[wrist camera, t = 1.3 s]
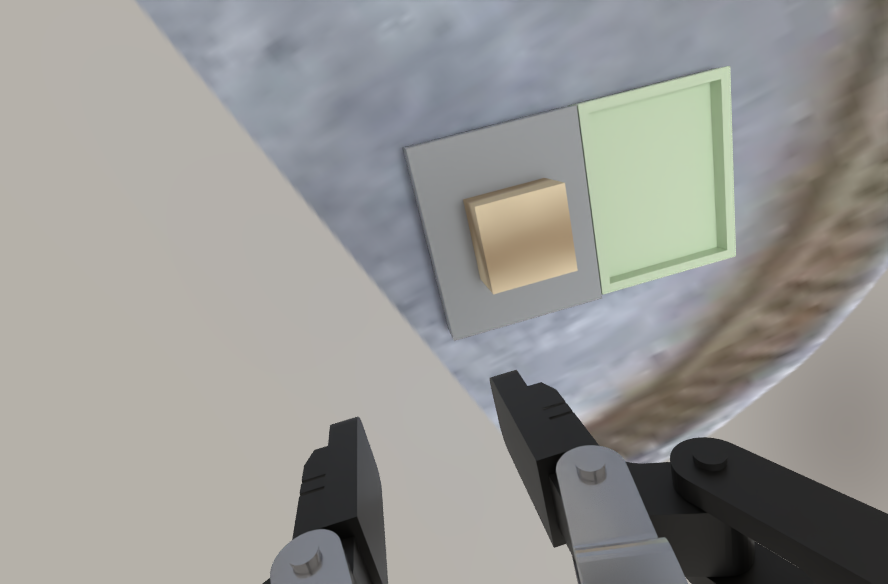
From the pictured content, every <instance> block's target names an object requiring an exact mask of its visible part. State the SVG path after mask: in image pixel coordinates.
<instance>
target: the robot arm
mask: <svg viewBox="0 0 888 584" xmlns="http://www.w3.org/2000/svg"><path fill="white" fill-rule="evenodd" d="M490 385H491V389H492V394H493V398H494V402H495V407H496V411H497V415H498V420H499V424H500V428H501V432H502V435H503V438H504V441H505V444H506V446H507V449H508V451H509V453H510V455H511V458H512V459H513V462H514V464H515V466H516V468H517V470H518V473H519V475H520V477H521V479H522V481H523V483H524V485H525V487H526V489H527V492H528V494H529V496H530V498H531V500H532V502H533V504H534V506H535V509H536V510H537V513H538V515H539V517H540V519H541V521H542V523H543V526H544V528H545V529H546V532H547V534H548V536H549V538H550V540H551V542H552V544H553V547H558V546H561V545H564V544H567V546H568V548H569V550H570V552H571V554H572V557H573V562H574V567H575V572H576V577H577V581H578V584H688V583H687V580H686V578H687V579H688V580H689V582H690V583H692V584H888V514H887V513H884V512H882V511H880V510H878V509H876V508H873V507H871V506H869V505H867V504H865V503H862V502H860V501H858V500H856V499H854V498H851V497H849V496H847V495H845V494H842V493H840V492H838V491H836V490H833V489H831V488H829V487H827V486H825V485H823V484H820V483H818V482H816V481H814V480H812V479H809V478H807V477H805V476H803V475H800V474H798V473H796V472H794V471H792V470H789V469H787V468H785V467H783V466H780V465H778V464H776V463H774V462H772V461H770V460H767V459H765V458H763V457H760V456H758V455H756V454H754V453H752V452H750V451H747V450H745V449H743V448H741V447H739V446H736V445H734V444H732V443H729V442H727V441H723V440H720V439H715V438H706V437H703V438H692V439H688V440H685V441H683V442H681V443H679V444H678V445H676V446H675V447H674V449H673V450H672V452H671V455H670V462H663V463H646V464H638V463H630V462H625V460H624V459H623V458H622V456H621V455H619V454H618V453H617V452H615V451H613V450H612V449H609V448H606V447H602V446H599V445H598V443H597V442H596V441H595V439H594V438H593V437H592V436H591V434H590V433H589V432H588V430H587V429H586V428H585V426H584V425H583V424H582V423H581V421H580V420H579V419H578V417H577V416H576V415H575V413H573V412H572V410H571V408H570V407H569V406H568V404H567V403H565V400H564V399H563V398H562V397H561V395H560V394H559V393H558V391H557V390H556V389H554V388H552V387H550V386H548V385H546V384H544V383H542V382H540V383H537V384H534V385H530V386H527V385H526V383H525V382H524V380H523V379H522V377H521V376H520V374H519V373H518V371H517V370H514V371H511V372H507V373H504V374H501V375H497V376H494V377H491V378H490ZM758 543H759V544H758ZM763 546H764V547H763ZM768 549H769V550H768ZM770 550H771V551H770ZM773 552H774V553H773ZM775 553H776V554H775ZM778 555H779V556H778ZM780 556H781V557H780ZM783 558H784V559H783ZM785 559H786V560H785ZM788 561H789V562H788ZM790 562H791V563H790ZM793 564H794V565H793ZM795 565H796V566H795ZM798 567H799V568H798ZM685 577H686V578H685ZM263 584H388V576H387V561H386V547H385V531H384V516H383V502H382V488H381V481H380V477H379V472H378V468H377V465H376V462H375V459H374V456H373V453H372V451H371V448H370V445H369V442H368V439H367V436H366V433H365V430H364V427H363V425H362V422H361V420H360V418H359V417H355V418H352V419H348V420H345V421H342V422H339V423H335V424H332V425H330V431H329V443H328V446H327V447H323V448H320V449H316V450H314V451H313V453H312V454H311V456H310V458H309V459H308V461H307V462H306V464H305V465H304V470H303V476H302V484H301V489H300V497H299V501H298V508H297V514H296V520H295V526H294V533H293V539H292V541H291V542H290V543H288V544H287V545H286V546H285V547H284V548H283V549H282V550H281V551H280V552H279V554H278V555H277V556H276V558H275V560H274V562H273V564H272V567H271V571H270V578H269V579H268V580H267V581H265V582H264V583H263Z"/></svg>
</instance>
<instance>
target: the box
mask: <svg viewBox="0 0 888 584" xmlns="http://www.w3.org/2000/svg"><path fill="white" fill-rule="evenodd" d="M576 105H577V112H578V120H579V128H580V135H581V143H582V150H583V158H584V166H585V173H586V181H587V188H588V196H589V204H590V211H591V219H592V226H593V234H594V242H595V249H596V257H597V264H598V272H599V280H600V287H601V294H606V293H610V292H613V291H617V290H620V289H624V288H627V287H631V286H634V285H638V284H641V283H645V282H648V281H652V280H655V279H659V278H662V277H665V276H669V275H672V274H676V273H679V272H683V271H686V270H690V269H693V268H697V267H700V266H704V265H707V264H711V263H714V262H717V261H721V260H724V259H728V258H731V257H735V256H736V245H735V212H734V178H733V145H732V112H731V79H730V66H727V67H721V68H715V69H711V70H707V71H703V72H699V73H695V74H691V75H687V76H683V77H679V78H675V79H671V80H667V81H663V82H659V83H655V84H651V85H648V86H644V87H640V88H636V89H632V90H628V91H624V92H620V93H616V94H612V95H608V96H604V97H600V98H596V99H592V100H588V101H584V102H581V103H577V104H573V105H569V106H576Z"/></svg>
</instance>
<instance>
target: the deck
mask: <svg viewBox="0 0 888 584" xmlns="http://www.w3.org/2000/svg"><path fill="white" fill-rule="evenodd" d="M403 151H404V155H405V159H406V163H407V167H408V171H409V175H410V178H411V182H412V186H413V190H414V194H415V198H416V202H417V206H418V210H419V214H420V218H421V222H422V226H423V230H424V234H425V238H426V242H427V246H428V250H429V254H430V258H431V262H432V266H433V270H434V273H435V277H436V281H437V285H438V289H439V293H440V297H441V301H442V305H443V309H444V313H445V317H446V321H447V325H448V329H449V331H450V333H451V336H452V338H453V340H454V341H456V340H459V339H463V338H466V337H469V336H473V335H476V334H480V333H483V332H487V331H490V330H494V329H497V328H501V327H504V326H508V325H511V324H514V323H518V322H521V321H525V320H528V319H532V318H535V317H539V316H542V315H546V314H549V313H553V312H556V311H559V310H563V309H566V308H570V307H573V306H577V305H580V304H584V303H587V302H591V301H594V300H598V299H601V298H602V295H601V287H600V280H599V272H598V264H597V257H596V249H595V242H594V234H593V226H592V219H591V211H590V204H589V196H588V188H587V181H586V173H585V166H584V158H583V150H582V143H581V135H580V128H579V120H578V112H577V105H576V106H567V107H561V108H557V109H553V110H549V111H545V112H541V113H537V114H533V115H529V116H525V117H521V118H517V119H514V120H510V121H506V122H502V123H498V124H494V125H490V126H486V127H482V128H478V129H474V130H470V131H466V132H462V133H458V134H454V135H450V136H447V137H443V138H439V139H435V140H431V141H427V142H423V143H419V144H415V145H411V146H407V147H403ZM542 178H548V179H552V180H556V181H560V182H564V183H565V187H566V194H567V201H568V207H569V214H570V221H571V228H572V235H573V242H574V248H575V255H576V262H577V269H578V271H575V272H571V273H567V274H564V275H560V276H557V277H553V278H550V279H546V280H543V281H539V282H536V283H532V284H529V285H525V286H522V287H518V288H514V289H511V290H507V291H504V292H500V293H497V294H492V292H491V291H490V290H489V289H488V288H487V286H486V285H485V284H484V283H483V282H482V280H481V279H480V274H479V270H478V265H477V261H476V256H475V252H474V247H473V243H472V238H471V233H470V229H469V224H468V220H467V215H466V211H465V206H464V202H463V199H467V198H470V197H474V196H478V195H482V194H485V193H489V192H493V191H497V190H501V189H504V188H508V187H512V186H516V185H519V184H523V183H527V182H531V181H534V180H538V179H542Z"/></svg>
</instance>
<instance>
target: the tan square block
mask: <svg viewBox="0 0 888 584" xmlns="http://www.w3.org/2000/svg"><path fill="white" fill-rule="evenodd" d="M463 202H464V206H465V211H466V215H467V220H468V224H469V229H470V233H471V238H472V243H473V247H474V252H475V256H476V261H477V265H478V270H479V274H480V279H481V280H482V282H483V283H484V284H485V285H486V286H487V288H488V289H489V290H490V291H491V292H492V294H497V293H500V292H504V291H507V290H511V289H514V288H518V287H522V286H525V285H529V284H532V283H536V282H539V281H543V280H546V279H550V278H553V277H557V276H560V275H564V274H567V273H571V272H575V271H578V269H577V262H576V255H575V248H574V242H573V235H572V228H571V221H570V214H569V207H568V201H567V194H566V187H565V183H564V182H560V181H556V180H552V179H548V178H542V179H538V180H534V181H531V182H527V183H523V184H519V185H516V186H512V187H508V188H504V189H501V190H497V191H493V192H489V193H485V194H482V195H478V196H474V197H470V198H467V199H463Z"/></svg>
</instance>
